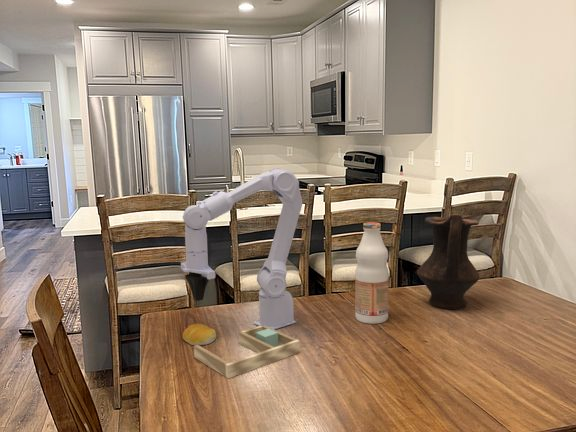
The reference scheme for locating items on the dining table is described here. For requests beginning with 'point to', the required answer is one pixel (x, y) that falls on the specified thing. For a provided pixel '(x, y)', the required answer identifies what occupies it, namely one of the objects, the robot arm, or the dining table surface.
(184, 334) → the bread roll
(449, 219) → the jug
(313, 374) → the dining table surface
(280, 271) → the robot arm
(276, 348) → the organiser frame
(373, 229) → the fruit juice
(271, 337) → the teal block
